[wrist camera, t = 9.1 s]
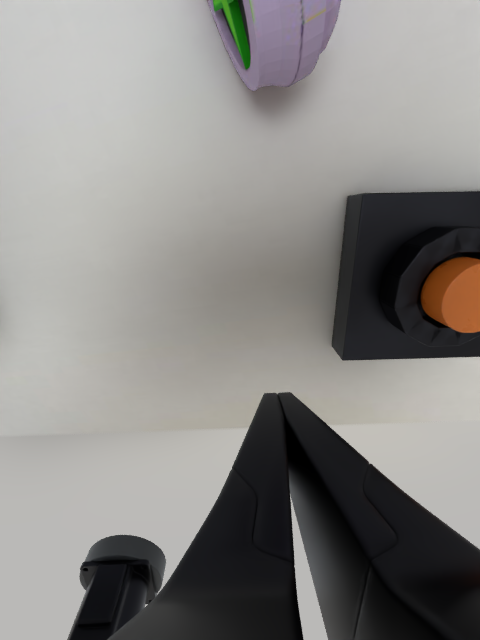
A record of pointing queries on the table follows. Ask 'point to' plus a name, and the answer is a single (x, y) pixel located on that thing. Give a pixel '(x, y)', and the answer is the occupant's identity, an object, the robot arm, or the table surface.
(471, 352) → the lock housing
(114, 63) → the table surface
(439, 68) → the table surface
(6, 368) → the table surface
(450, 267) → the button
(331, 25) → the headphones
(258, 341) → the table surface
